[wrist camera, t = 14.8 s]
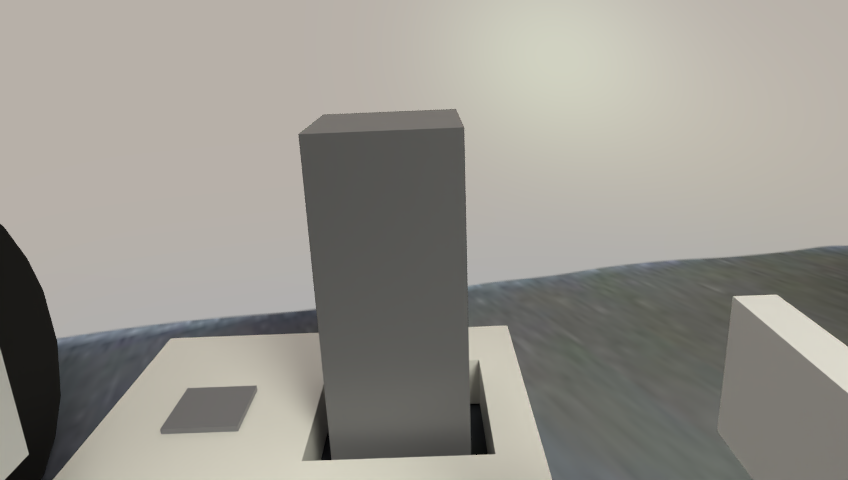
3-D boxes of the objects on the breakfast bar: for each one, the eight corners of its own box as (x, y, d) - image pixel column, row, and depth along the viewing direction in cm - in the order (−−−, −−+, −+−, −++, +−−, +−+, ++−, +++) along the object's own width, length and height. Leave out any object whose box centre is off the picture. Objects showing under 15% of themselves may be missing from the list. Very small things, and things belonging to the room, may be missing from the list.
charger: (463, 413, 25) (455, 108, 22) (472, 494, 21) (463, 127, 17) (351, 417, 25) (324, 113, 22) (335, 498, 21) (298, 134, 17)
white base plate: (507, 365, 29) (507, 321, 28) (563, 583, 17) (565, 517, 17) (178, 377, 29) (170, 334, 28) (17, 601, 17) (-2, 537, 17)
